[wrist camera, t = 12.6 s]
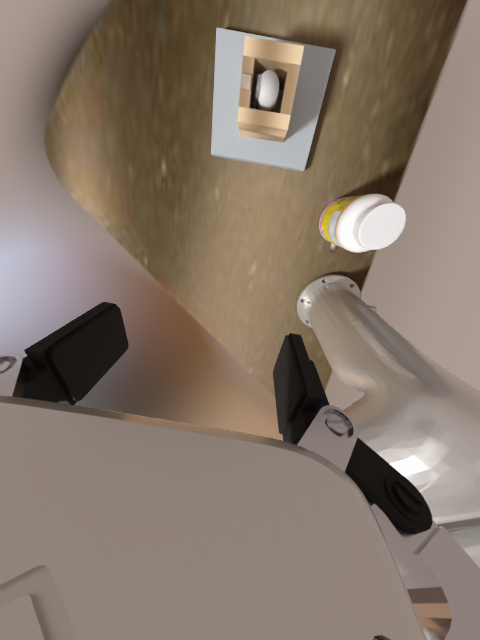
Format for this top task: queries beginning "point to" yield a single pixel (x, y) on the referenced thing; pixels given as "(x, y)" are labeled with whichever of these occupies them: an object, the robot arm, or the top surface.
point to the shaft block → (266, 104)
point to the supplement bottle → (362, 222)
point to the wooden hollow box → (287, 67)
